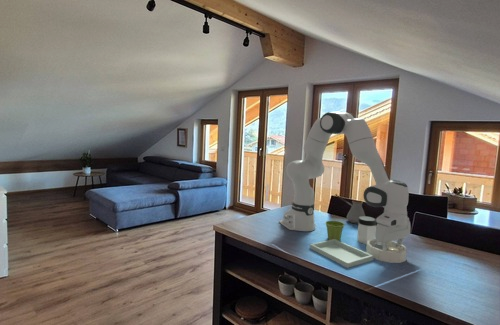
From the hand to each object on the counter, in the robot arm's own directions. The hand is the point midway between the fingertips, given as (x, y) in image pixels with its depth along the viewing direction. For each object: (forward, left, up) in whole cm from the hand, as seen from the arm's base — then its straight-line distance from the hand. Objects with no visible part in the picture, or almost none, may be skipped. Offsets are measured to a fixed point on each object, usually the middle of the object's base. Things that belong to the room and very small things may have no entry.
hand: (392, 248), depth 128 cm
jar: (-19, +7, -5) cm, 21 cm away
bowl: (-3, 0, -5) cm, 5 cm away
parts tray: (-13, -18, -5) cm, 23 cm away
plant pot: (-28, -6, -5) cm, 29 cm away
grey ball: (-6, 0, -4) cm, 7 cm away
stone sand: (0, 0, -4) cm, 4 cm away
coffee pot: (-48, +29, -5) cm, 57 cm away
